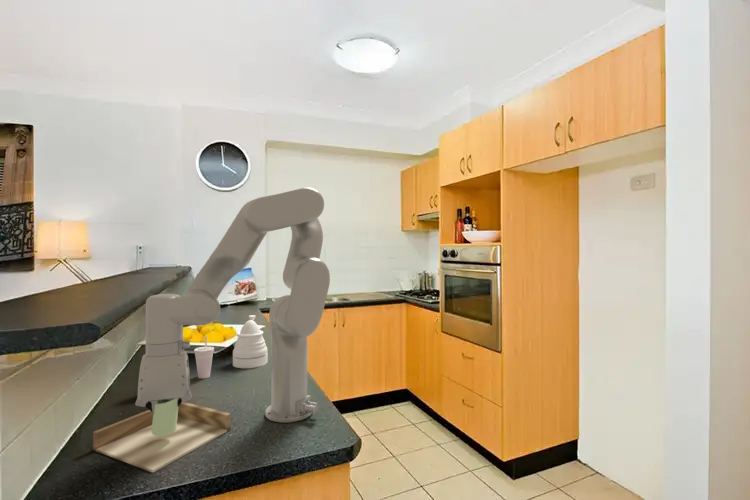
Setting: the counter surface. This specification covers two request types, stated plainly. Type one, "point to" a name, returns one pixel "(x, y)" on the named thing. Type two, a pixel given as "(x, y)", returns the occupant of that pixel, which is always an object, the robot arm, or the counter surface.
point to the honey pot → (250, 346)
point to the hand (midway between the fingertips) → (164, 428)
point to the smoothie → (204, 360)
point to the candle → (165, 417)
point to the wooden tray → (155, 452)
